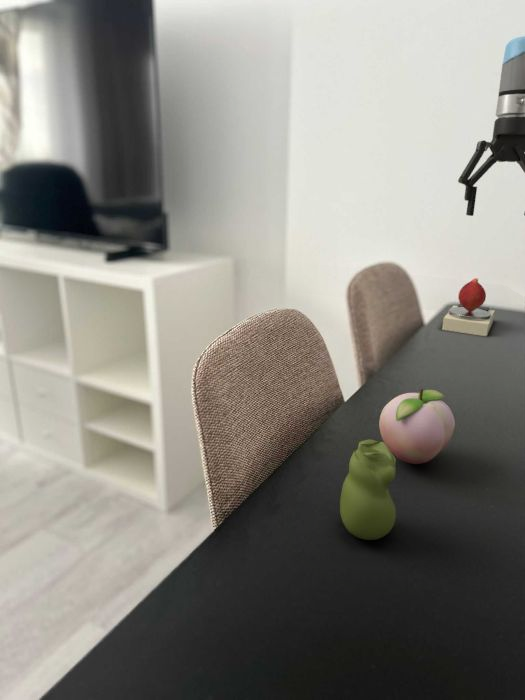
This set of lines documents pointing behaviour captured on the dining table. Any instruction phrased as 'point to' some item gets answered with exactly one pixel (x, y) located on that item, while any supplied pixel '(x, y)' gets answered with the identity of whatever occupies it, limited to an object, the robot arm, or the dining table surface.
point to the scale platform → (469, 314)
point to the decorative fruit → (416, 426)
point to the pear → (369, 491)
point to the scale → (468, 323)
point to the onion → (472, 295)
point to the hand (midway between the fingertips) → (498, 215)
